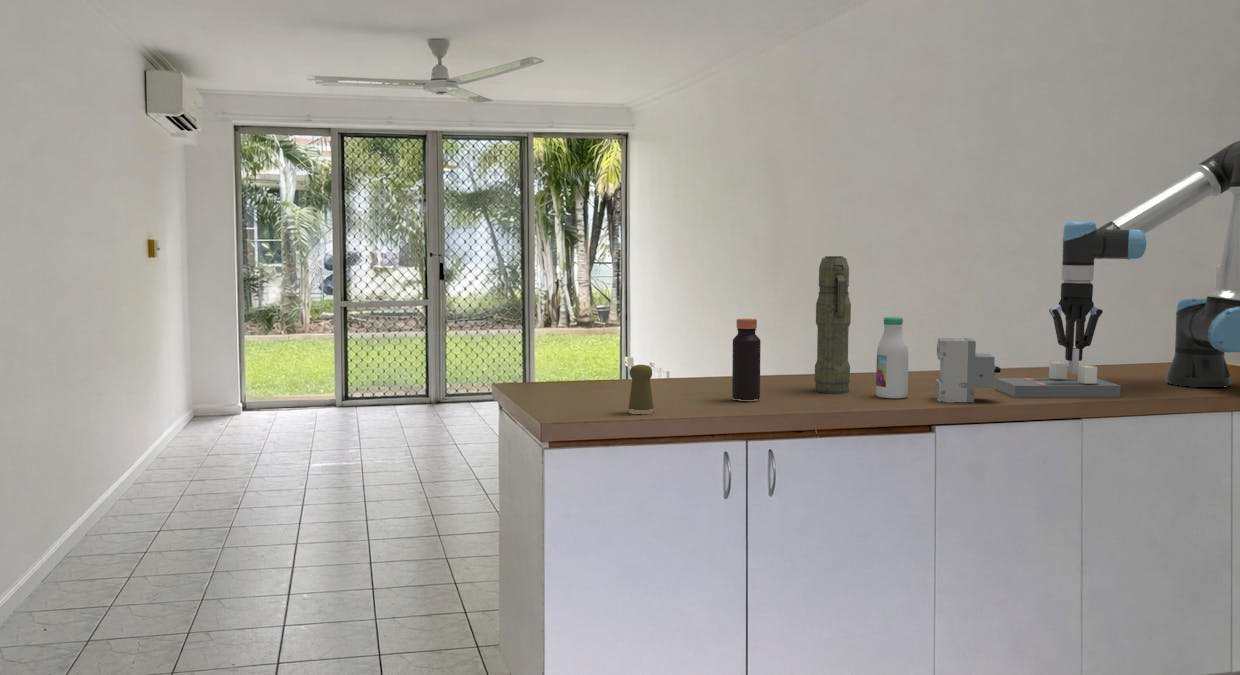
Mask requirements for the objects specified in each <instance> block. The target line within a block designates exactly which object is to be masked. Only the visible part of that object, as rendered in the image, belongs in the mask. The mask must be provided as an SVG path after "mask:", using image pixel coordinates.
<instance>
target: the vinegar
mask: <svg viewBox="0 0 1240 675" xmlns="http://www.w3.org/2000/svg"><path fill="white" fill-rule="evenodd" d="M757 325H758V320H757V319H756V318H737V319H736V331H737V334H736V336H735V337H734V338H732V373H731V374H732V379H731V380H732V387H731V389H732V390H731V392H732V393H731V394H732V398H734V399H741V400H754V399H759V398H760V399H761V344H762V342H761V338H760V337H759V336H758V335H757V334H756V331H757V330H758V329H757Z"/></svg>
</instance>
